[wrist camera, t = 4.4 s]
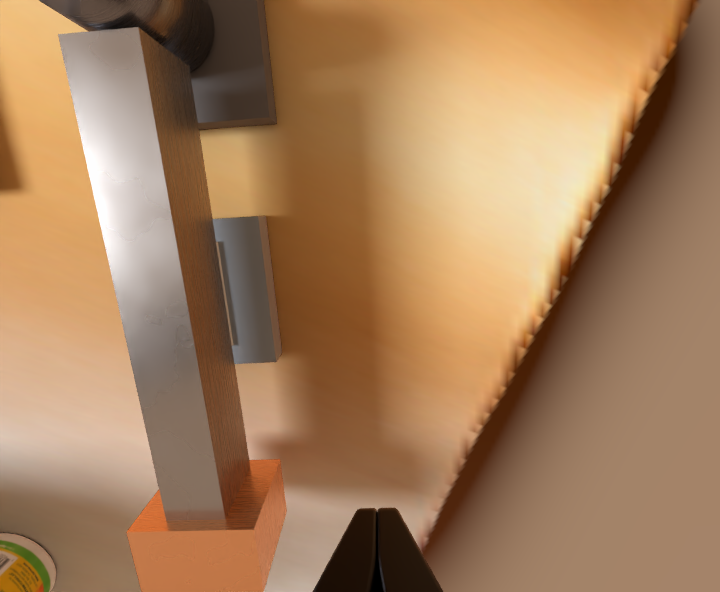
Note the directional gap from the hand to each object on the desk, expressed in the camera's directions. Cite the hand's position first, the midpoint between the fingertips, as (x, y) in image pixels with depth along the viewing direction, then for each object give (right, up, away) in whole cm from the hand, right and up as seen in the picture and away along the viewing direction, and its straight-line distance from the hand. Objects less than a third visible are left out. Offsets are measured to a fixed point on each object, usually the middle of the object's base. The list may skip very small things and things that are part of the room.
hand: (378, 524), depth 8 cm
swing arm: (-7, +6, +9) cm, 13 cm away
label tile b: (-7, +5, +11) cm, 14 cm away
